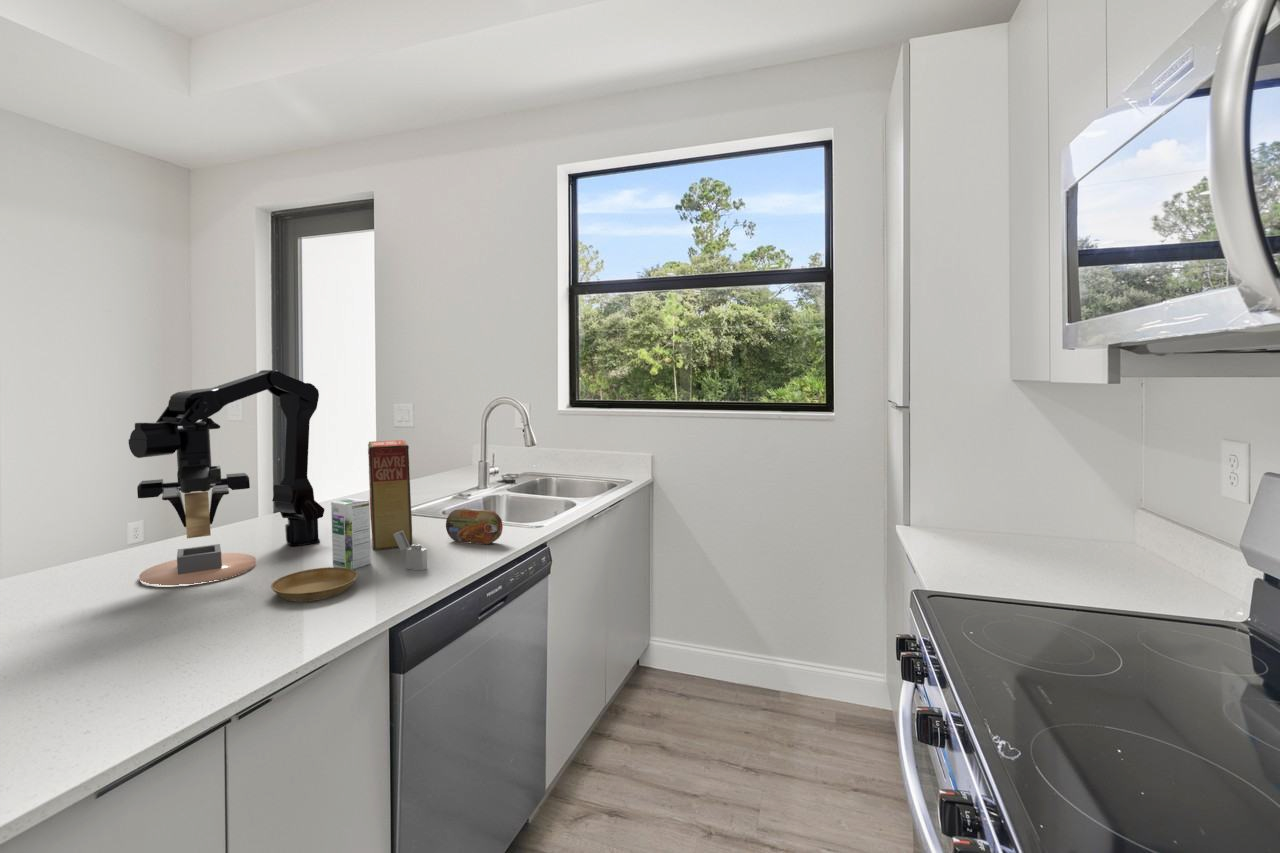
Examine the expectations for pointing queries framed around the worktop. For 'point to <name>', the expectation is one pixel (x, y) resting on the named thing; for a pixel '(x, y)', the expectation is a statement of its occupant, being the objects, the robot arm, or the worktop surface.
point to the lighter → (412, 552)
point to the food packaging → (389, 492)
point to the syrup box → (351, 533)
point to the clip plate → (198, 566)
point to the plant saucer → (314, 583)
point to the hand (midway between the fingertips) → (198, 525)
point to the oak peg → (197, 514)
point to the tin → (474, 526)
